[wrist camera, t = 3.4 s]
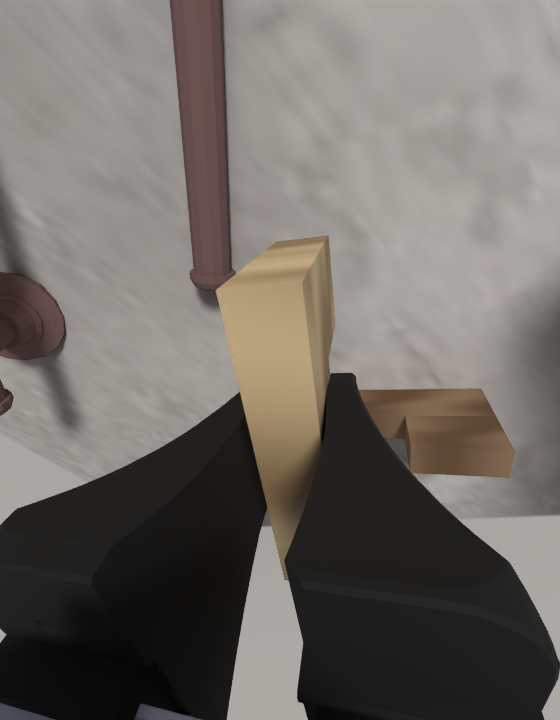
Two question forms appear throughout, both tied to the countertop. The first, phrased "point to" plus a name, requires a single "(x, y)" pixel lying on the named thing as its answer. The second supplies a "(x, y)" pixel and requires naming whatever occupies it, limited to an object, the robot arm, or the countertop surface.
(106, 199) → the countertop surface
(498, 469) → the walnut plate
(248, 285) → the light wooden block
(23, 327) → the toilet paper hanger
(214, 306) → the countertop surface
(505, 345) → the countertop surface
